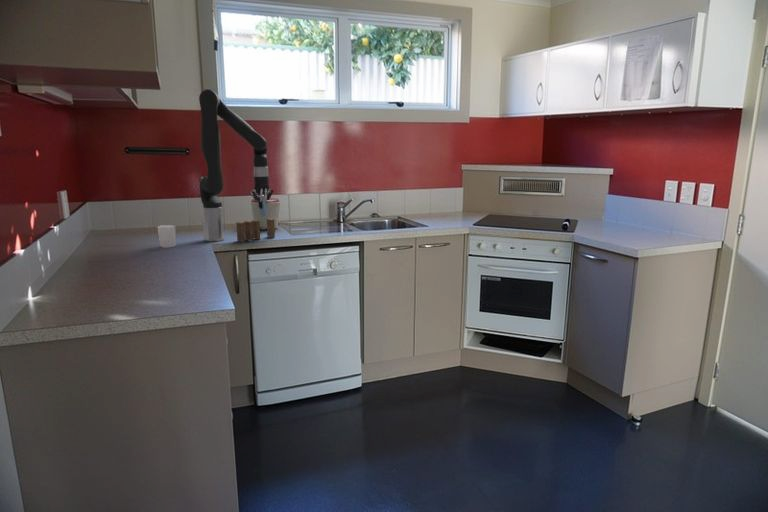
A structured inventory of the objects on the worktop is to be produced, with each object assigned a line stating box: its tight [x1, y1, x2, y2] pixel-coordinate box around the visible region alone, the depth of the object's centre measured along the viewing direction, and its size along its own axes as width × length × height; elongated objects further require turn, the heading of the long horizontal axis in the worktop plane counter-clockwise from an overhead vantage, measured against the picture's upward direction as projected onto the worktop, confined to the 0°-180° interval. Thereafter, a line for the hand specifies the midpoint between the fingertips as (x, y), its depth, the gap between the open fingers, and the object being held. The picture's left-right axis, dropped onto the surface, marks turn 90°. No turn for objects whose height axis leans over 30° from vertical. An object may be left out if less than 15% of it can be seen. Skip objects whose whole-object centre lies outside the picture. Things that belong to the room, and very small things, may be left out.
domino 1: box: [236, 221, 246, 243], centre depth 264 cm, size 2×5×10 cm, turn 45°
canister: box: [249, 197, 281, 231], centre depth 304 cm, size 18×18×21 cm
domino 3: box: [251, 220, 261, 240], centre depth 271 cm, size 2×5×10 cm, turn 45°
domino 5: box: [266, 218, 276, 238], centre depth 277 cm, size 2×5×10 cm, turn 45°
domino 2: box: [243, 220, 254, 241], centre depth 268 cm, size 2×5×10 cm, turn 45°
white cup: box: [157, 224, 176, 249], centre depth 250 cm, size 8×8×10 cm
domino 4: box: [258, 197, 268, 217], centre depth 271 cm, size 2×5×10 cm, turn 45°
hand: (262, 208), depth 271 cm, fingers closed on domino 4, 1 cm apart
